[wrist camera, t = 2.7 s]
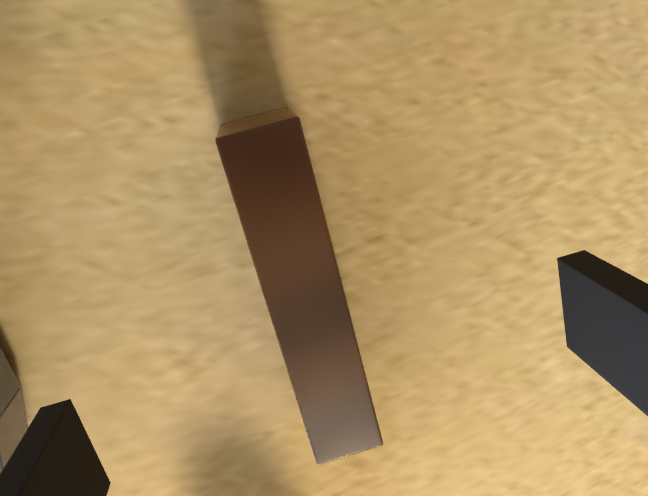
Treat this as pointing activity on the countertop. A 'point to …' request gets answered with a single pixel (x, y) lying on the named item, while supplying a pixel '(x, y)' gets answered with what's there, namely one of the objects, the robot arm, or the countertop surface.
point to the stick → (300, 279)
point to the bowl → (10, 412)
